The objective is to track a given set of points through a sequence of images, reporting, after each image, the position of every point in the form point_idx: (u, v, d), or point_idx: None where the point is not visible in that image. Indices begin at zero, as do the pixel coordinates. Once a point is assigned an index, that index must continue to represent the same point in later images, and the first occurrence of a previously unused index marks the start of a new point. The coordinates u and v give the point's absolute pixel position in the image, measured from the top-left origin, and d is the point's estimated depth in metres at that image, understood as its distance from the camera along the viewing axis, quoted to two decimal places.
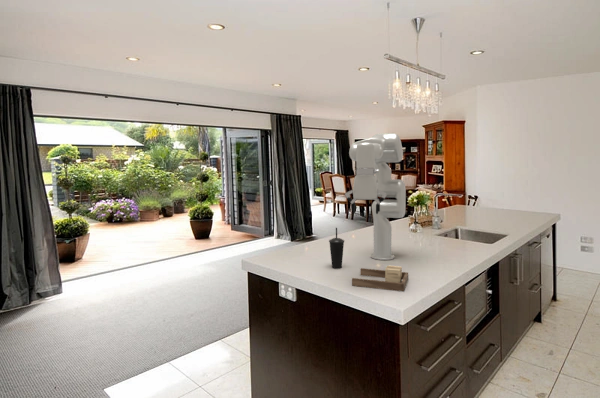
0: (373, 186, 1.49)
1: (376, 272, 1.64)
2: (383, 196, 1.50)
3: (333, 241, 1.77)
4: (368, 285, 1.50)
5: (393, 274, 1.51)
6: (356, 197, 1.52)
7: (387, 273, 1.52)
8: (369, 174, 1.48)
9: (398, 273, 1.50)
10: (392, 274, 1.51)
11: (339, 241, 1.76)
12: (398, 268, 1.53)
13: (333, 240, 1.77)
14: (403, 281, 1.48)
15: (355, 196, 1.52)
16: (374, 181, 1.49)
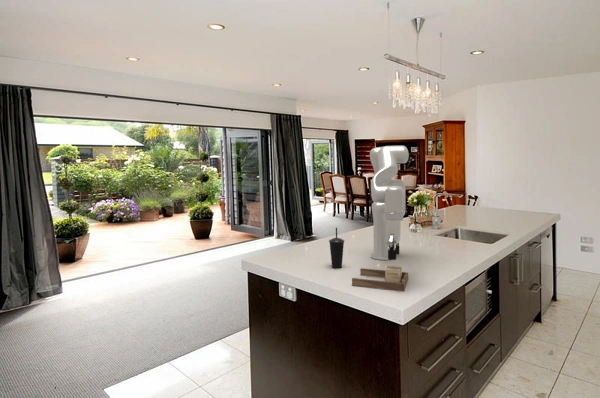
0: None
1: (376, 272, 1.64)
2: None
3: (333, 241, 1.77)
4: (368, 285, 1.50)
5: (393, 274, 1.51)
6: (397, 242, 1.48)
7: (387, 273, 1.52)
8: None
9: (398, 273, 1.50)
10: (392, 274, 1.51)
11: (339, 241, 1.76)
12: (398, 268, 1.53)
13: (333, 240, 1.77)
14: (403, 281, 1.48)
15: (397, 241, 1.48)
16: None
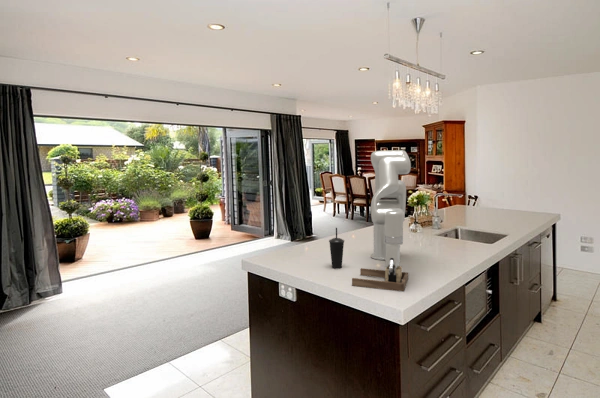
0: None
1: (376, 272, 1.64)
2: None
3: (333, 241, 1.77)
4: (368, 285, 1.50)
5: None
6: (397, 266, 1.50)
7: (387, 273, 1.52)
8: None
9: (398, 273, 1.50)
10: None
11: (339, 241, 1.76)
12: (398, 268, 1.53)
13: (333, 240, 1.77)
14: (403, 281, 1.48)
15: (397, 265, 1.49)
16: None
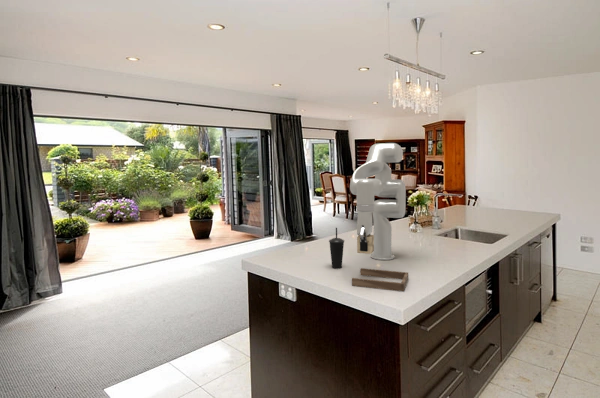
0: None
1: (376, 272, 1.64)
2: None
3: (333, 241, 1.77)
4: (368, 285, 1.50)
5: None
6: (368, 233, 1.53)
7: (359, 241, 1.55)
8: None
9: (369, 240, 1.54)
10: None
11: (339, 241, 1.76)
12: (370, 236, 1.56)
13: (333, 240, 1.77)
14: (403, 281, 1.48)
15: (368, 233, 1.53)
16: None
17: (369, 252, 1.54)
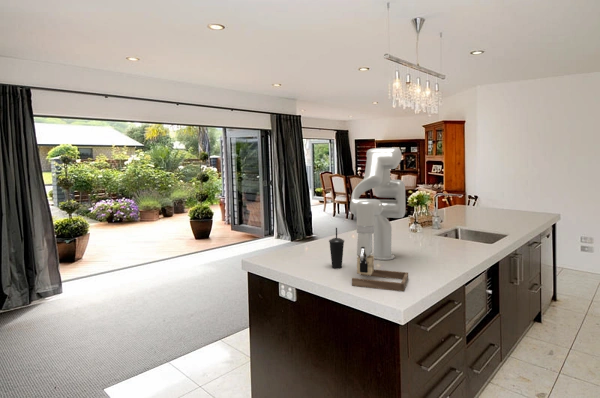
0: None
1: (376, 272, 1.64)
2: None
3: (333, 241, 1.77)
4: (368, 285, 1.50)
5: None
6: (368, 255, 1.54)
7: (359, 262, 1.56)
8: None
9: (369, 261, 1.54)
10: None
11: (339, 241, 1.76)
12: (370, 257, 1.57)
13: (333, 240, 1.77)
14: (403, 281, 1.48)
15: (368, 254, 1.53)
16: None
17: (369, 273, 1.55)
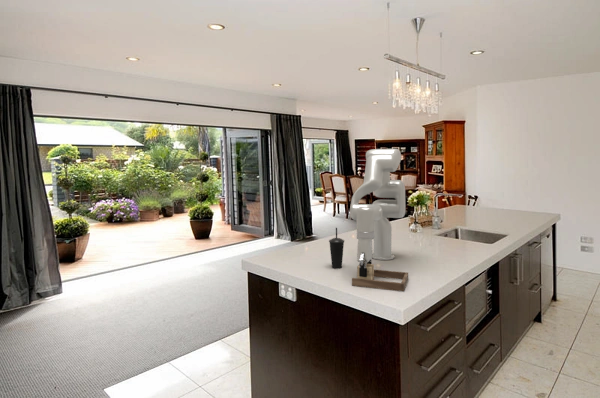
0: None
1: (376, 272, 1.64)
2: None
3: (333, 241, 1.77)
4: (368, 285, 1.50)
5: None
6: (368, 260, 1.54)
7: None
8: None
9: (369, 270, 1.55)
10: None
11: (339, 241, 1.76)
12: (370, 265, 1.57)
13: (333, 240, 1.77)
14: (403, 281, 1.48)
15: (368, 260, 1.54)
16: None
17: None
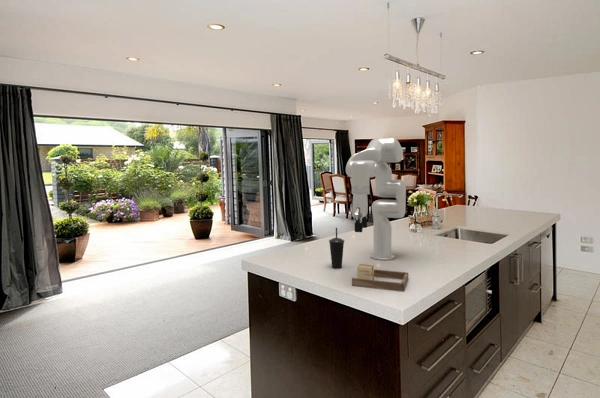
0: (367, 202, 1.58)
1: (376, 272, 1.64)
2: None
3: (333, 241, 1.77)
4: (368, 285, 1.50)
5: (365, 271, 1.56)
6: (363, 215, 1.52)
7: (359, 271, 1.57)
8: None
9: (369, 270, 1.55)
10: (364, 271, 1.56)
11: (339, 241, 1.76)
12: (370, 265, 1.57)
13: (333, 240, 1.77)
14: (403, 281, 1.48)
15: (363, 214, 1.52)
16: (367, 197, 1.58)
17: None
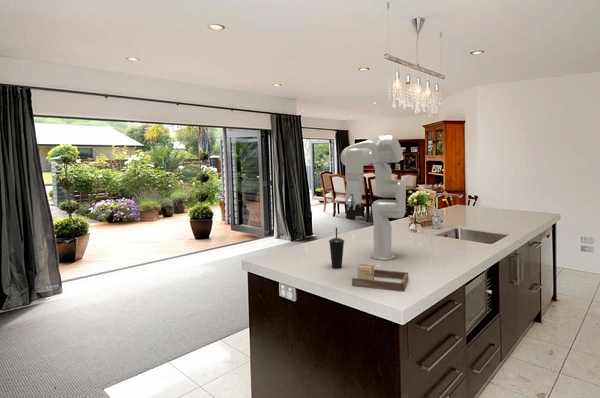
0: (361, 190, 1.56)
1: (376, 272, 1.64)
2: None
3: (333, 241, 1.77)
4: (368, 285, 1.50)
5: (365, 271, 1.56)
6: (357, 202, 1.50)
7: (359, 271, 1.57)
8: None
9: (369, 270, 1.55)
10: (364, 271, 1.56)
11: (339, 241, 1.76)
12: (370, 265, 1.57)
13: (333, 240, 1.77)
14: (403, 281, 1.48)
15: (357, 202, 1.50)
16: (361, 185, 1.57)
17: None
